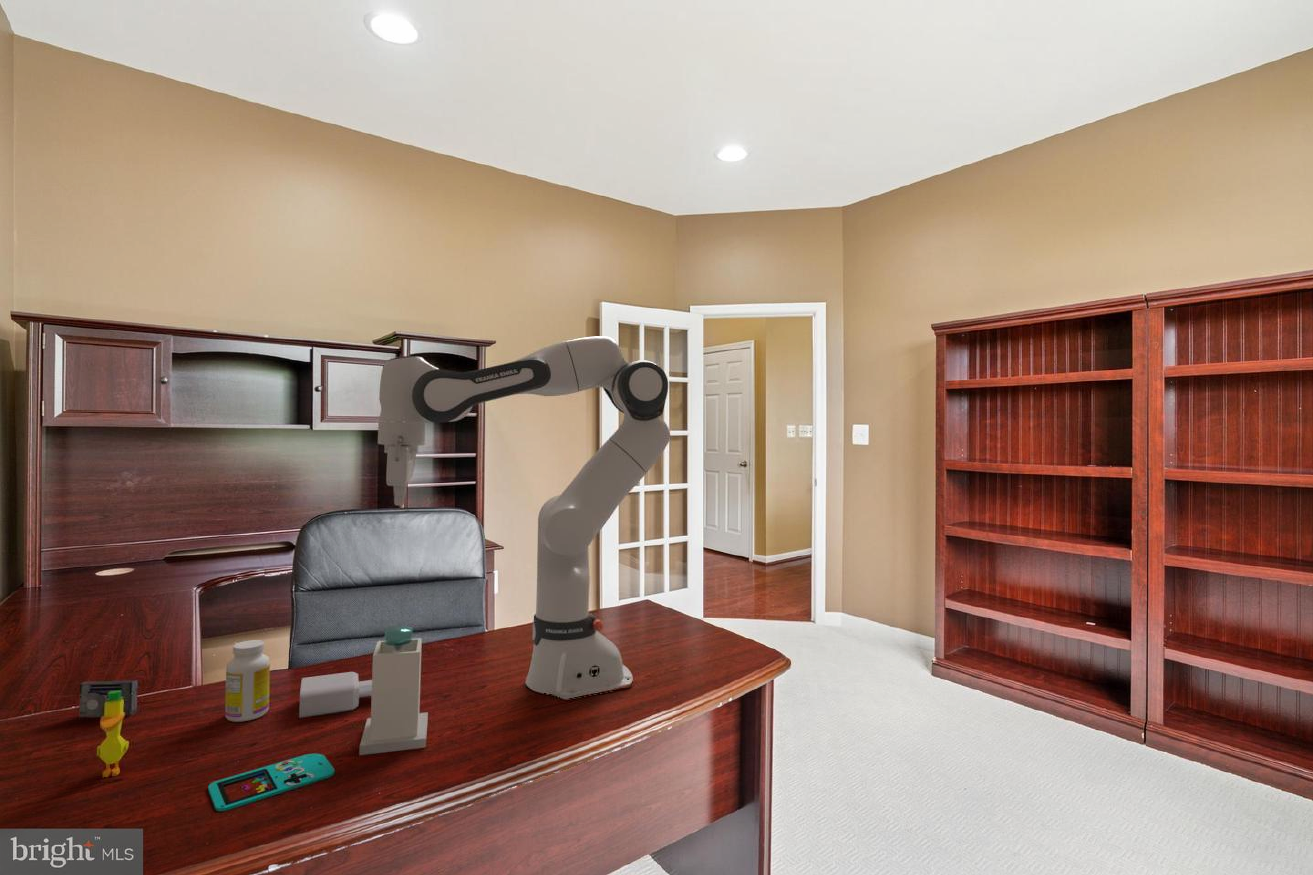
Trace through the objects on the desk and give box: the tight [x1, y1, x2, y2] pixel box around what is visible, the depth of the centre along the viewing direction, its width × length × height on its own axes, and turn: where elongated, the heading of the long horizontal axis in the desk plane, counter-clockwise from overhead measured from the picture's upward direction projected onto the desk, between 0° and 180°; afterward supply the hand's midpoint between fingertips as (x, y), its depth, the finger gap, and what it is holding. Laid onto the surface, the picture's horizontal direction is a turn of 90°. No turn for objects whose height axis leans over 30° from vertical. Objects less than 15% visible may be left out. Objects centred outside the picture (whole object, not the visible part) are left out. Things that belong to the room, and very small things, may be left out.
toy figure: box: [96, 690, 130, 779], centre depth 93 cm, size 7×4×12 cm, turn 32°
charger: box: [298, 671, 372, 719], centre depth 120 cm, size 5×9×15 cm
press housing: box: [358, 637, 429, 756], centre depth 107 cm, size 10×10×16 cm
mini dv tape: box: [78, 679, 138, 718], centre depth 112 cm, size 8×2×6 cm, turn 99°
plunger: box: [384, 625, 414, 653], centre depth 107 cm, size 5×5×12 cm
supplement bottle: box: [224, 639, 271, 723], centre depth 113 cm, size 7×7×13 cm
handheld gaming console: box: [207, 753, 335, 812], centre depth 93 cm, size 8×1×15 cm
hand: (399, 504), depth 127 cm, fingers closed
